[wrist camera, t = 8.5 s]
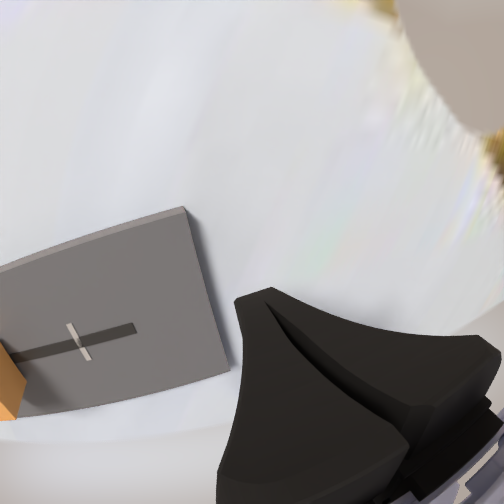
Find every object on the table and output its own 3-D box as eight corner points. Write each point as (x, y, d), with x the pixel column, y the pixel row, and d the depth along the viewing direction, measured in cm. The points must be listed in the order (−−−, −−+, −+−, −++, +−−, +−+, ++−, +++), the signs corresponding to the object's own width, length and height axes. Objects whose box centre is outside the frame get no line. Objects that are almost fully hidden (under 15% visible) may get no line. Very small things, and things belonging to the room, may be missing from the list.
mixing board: (225, 358, 22) (231, 371, 21) (-10, 409, 17) (-13, 420, 16) (182, 205, 17) (185, 212, 16) (-80, 301, 12) (-89, 311, 11)
